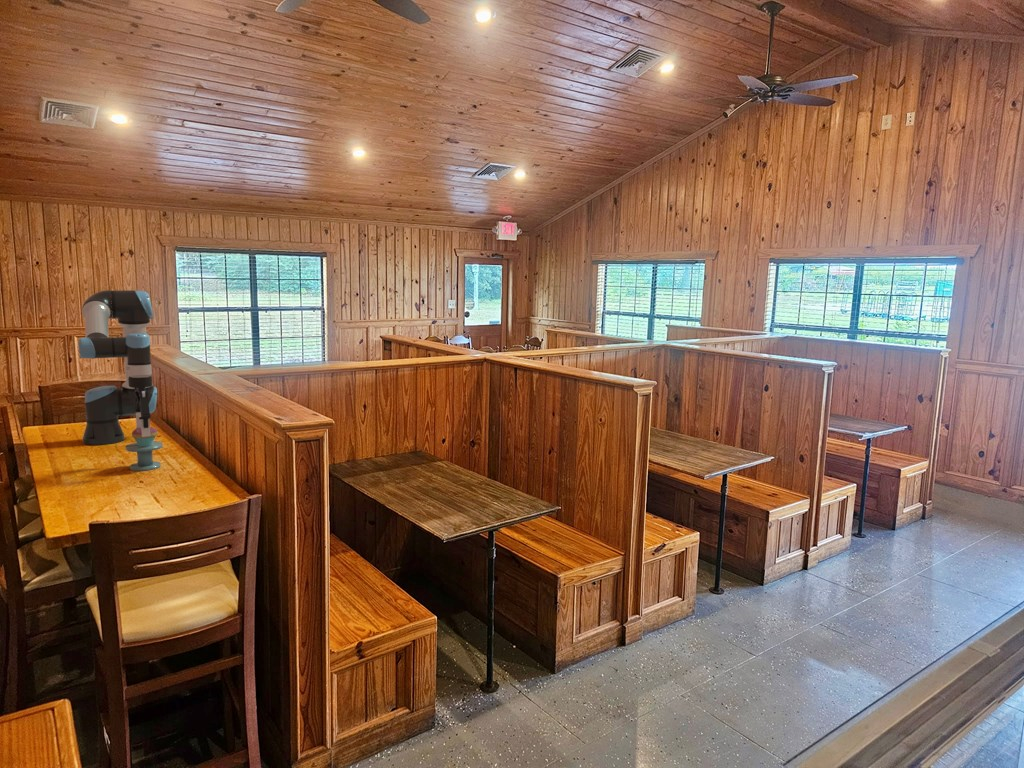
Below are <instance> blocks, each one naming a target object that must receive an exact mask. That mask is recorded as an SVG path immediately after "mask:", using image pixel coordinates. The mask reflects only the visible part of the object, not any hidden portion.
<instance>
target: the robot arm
mask: <svg viewBox="0 0 1024 768" xmlns="http://www.w3.org/2000/svg"><path fill="white" fill-rule="evenodd" d="M81 314H82V317H83V318H84V319H85V320H84V322H85V323H84V326H85V327H84V329H85V330H84V331H85V334H84V337H81V338H79V339H78V352H79V353H78V354H79V357H80V358H82V359H92V360H93V359H111V358H124V367H125V381H124V382H123V383H122V385H121V388H118V387H117V386H116V385H103V386H98V387H94V388H91V389H88V390H86V391H85V393H84V405H85V406H84V407H85V418H86V421H85V423H86V425H85V429H84V432H83V436H82V443H83V444H84V445H89V446H90V445H91V446H92V445H93V446H98V445H99V446H100V445H109V444H110V445H111V444H116V443H119V442H122V441H124V440H125V433H124V431H123V429H122V426H121V425H120V422H119V417H121V416H122V417H123V416H135V420H136V422H135V424H136V428H138V427H141V432H142V437H147V436H151V435H150V427H151V424H150V423H151V421H150V420H151V419H150V418H151V414H152V413H154V412H155V411H156V408H157V400H158V389H157V387H156V386H154V383H153V377H152V375H153V370H152V368H153V367H152V360H151V340H150V335H149V333H147V326H148V325H149V324H150V323H151V321H150V320H152V319H154V313H153V308H152V302H151V298H150V295H149V293H148V292H147V291H145V290H136V289H135V290H130V289H129V290H125V289H124V290H114V289H113V290H111V289H110V290H109V289H107V290H105V289H104V290H101V291H98V292H96V293H94V294H92V295H90V296H89V297H88V298H87V299H86V300H85V301H84V302H83V304H82V308H81ZM108 319H109V320H110V319H112V320H113V319H114V320H116V319H117V323H118V324H119V325H120V326H121V327H122V336H119V337H117V336H116V337H115V336H114V337H113V336H112V337H110V334H109V320H108Z"/></svg>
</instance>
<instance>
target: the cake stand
mask: <svg viewBox="0 0 1024 768" xmlns="http://www.w3.org/2000/svg"><path fill="white" fill-rule="evenodd" d="M163 447H164V443H163V442H161V441H155V440H154V441H153V445H151V446H147V447H139V446H138V444H137V442H134V443H130V444H127V445H125V451H127V452H132V453H136V459H137V462H135V463H132V464H131V465H129V469H130V471H132V472H148V471H154V470H157V469H160V468H161V467H162V463H161V461H158V460H157V461H156V460H155V461H154V456H153V455H154V454H153V451H157V450H160V449H162V448H163Z"/></svg>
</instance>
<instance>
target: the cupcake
mask: <svg viewBox="0 0 1024 768" xmlns="http://www.w3.org/2000/svg"><path fill="white" fill-rule="evenodd" d="M150 435H151V436H147V437H142V432H141V427H138V428H137V427H136V428H134V429H133V430H132V432H131V436H132V437H131V438H133V439H134V440H135V441H136V442H135V443H137V444H138V446H139V447H147V446H151V445H153V441H155V438H156V437H157V436H158V435H159V430H158V429H157V428H156V427H153V426H150Z"/></svg>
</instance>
